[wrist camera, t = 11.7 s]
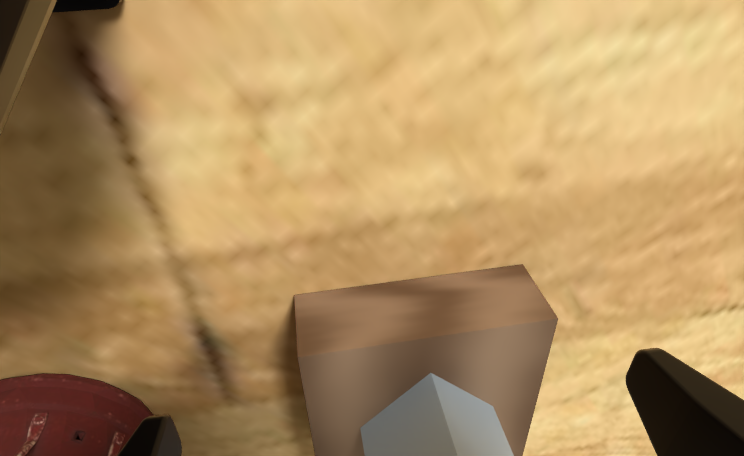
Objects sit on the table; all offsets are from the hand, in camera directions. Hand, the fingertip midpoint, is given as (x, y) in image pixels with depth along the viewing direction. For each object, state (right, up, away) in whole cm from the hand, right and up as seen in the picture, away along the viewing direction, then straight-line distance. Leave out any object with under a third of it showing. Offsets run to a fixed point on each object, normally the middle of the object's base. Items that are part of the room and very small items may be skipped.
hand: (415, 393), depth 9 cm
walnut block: (+1, -4, +19) cm, 20 cm away
